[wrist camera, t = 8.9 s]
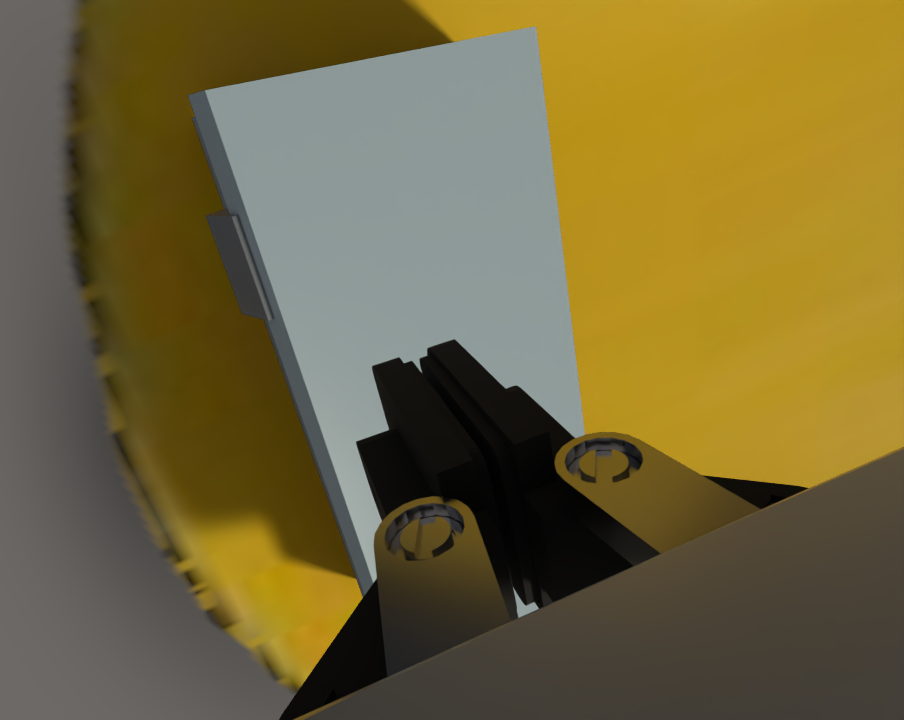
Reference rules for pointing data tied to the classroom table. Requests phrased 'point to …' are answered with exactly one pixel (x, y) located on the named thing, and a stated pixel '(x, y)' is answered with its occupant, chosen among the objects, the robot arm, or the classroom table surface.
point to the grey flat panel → (395, 236)
